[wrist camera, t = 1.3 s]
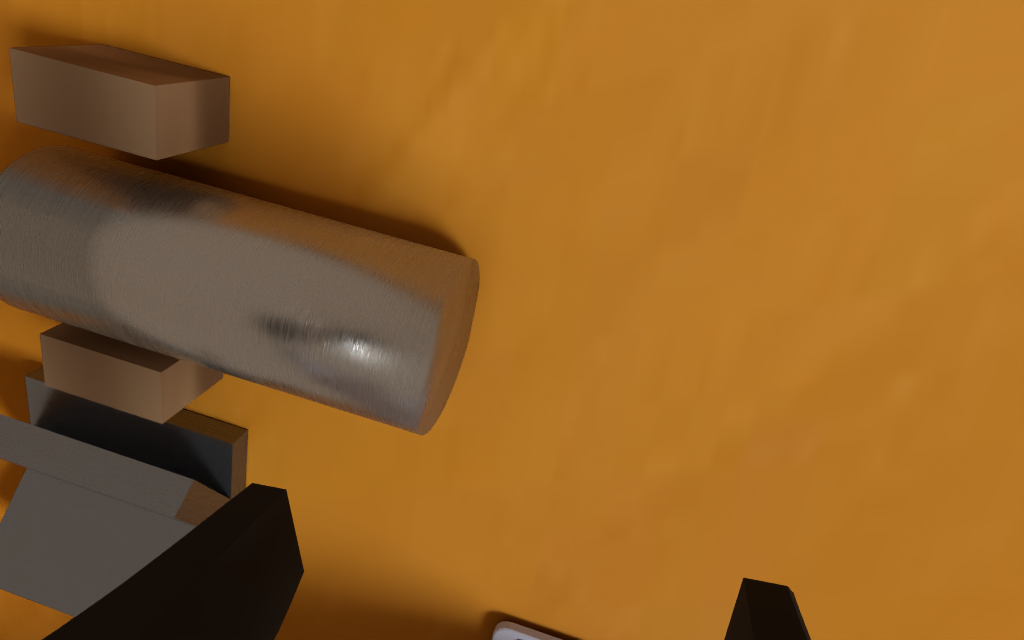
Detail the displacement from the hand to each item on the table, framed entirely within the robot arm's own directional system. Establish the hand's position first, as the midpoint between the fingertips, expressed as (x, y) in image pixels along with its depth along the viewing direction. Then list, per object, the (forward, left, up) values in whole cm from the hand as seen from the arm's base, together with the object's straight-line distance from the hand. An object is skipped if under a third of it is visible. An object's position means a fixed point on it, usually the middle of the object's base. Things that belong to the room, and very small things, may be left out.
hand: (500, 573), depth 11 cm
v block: (+14, +11, -10) cm, 20 cm away
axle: (+9, +1, -10) cm, 14 cm away
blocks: (+13, +1, -10) cm, 16 cm away
